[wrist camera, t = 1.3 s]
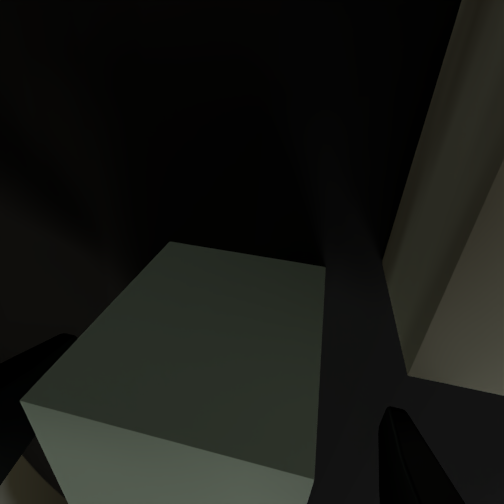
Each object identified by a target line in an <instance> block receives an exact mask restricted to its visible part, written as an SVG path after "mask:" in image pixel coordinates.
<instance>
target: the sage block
mask: <svg viewBox="0 0 504 504" xmlns="http://www.w3.org/2000/svg"><path fill="white" fill-rule="evenodd" d="M325 268H326V267H322V266H316V265H310V264H304V263H298V262H292V261H286V260H280V259H274V258H267V257H261V256H255V255H249V254H243V253H237V252H231V251H225V250H219V249H213V248H207V247H201V246H195V245H189V244H182V243H176V242H169V243H168V244H167V245H166V246H165V247H164V248H163V249H162V250H161V251H160V252H159V253H158V254H157V255H156V256H155V258H154V259H153V260H152V261H151V262H150V263H149V264H148V265H147V266H146V267H145V268H144V269H143V270H142V271H141V272H140V273H139V274H138V276H137V277H136V278H135V279H134V280H133V281H132V282H131V283H130V284H129V285H128V286H127V287H126V288H125V289H124V290H123V291H122V293H121V294H120V295H119V296H118V297H117V298H116V299H115V300H114V301H113V302H112V303H111V304H110V305H109V306H108V307H107V308H106V309H105V311H104V312H103V313H102V314H101V315H100V316H99V317H98V318H97V319H96V320H95V321H94V322H93V323H92V324H91V325H90V326H89V327H88V329H87V330H86V331H85V332H84V333H83V334H82V335H81V336H80V337H79V338H78V339H77V340H76V341H75V342H74V343H73V344H72V345H71V347H70V348H69V349H68V350H67V351H66V352H65V353H64V354H63V355H62V356H61V357H60V358H59V359H58V360H57V361H56V362H55V363H54V365H53V366H52V367H51V368H50V369H49V370H48V371H47V372H46V373H45V374H44V375H43V376H42V377H41V378H40V379H39V380H38V381H37V383H36V384H35V385H34V386H33V387H32V388H31V389H30V390H29V391H28V392H27V393H26V394H25V395H24V396H23V397H22V398H21V400H20V403H21V405H22V407H23V409H24V411H25V413H26V415H27V417H28V420H29V422H30V424H31V426H32V428H33V430H34V432H35V434H36V436H37V439H38V441H39V443H40V445H41V447H42V449H43V451H44V453H45V455H46V457H47V460H48V462H49V464H50V466H51V468H52V470H53V472H54V474H55V476H56V478H57V481H58V483H59V485H60V487H61V489H62V491H63V493H64V495H65V497H66V499H67V502H68V504H307V502H308V498H309V495H310V492H311V488H312V485H313V482H314V473H315V454H316V436H317V417H318V398H319V380H320V361H321V343H322V324H323V305H324V287H325Z"/></svg>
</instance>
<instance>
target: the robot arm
mask: <svg viewBox="0 0 504 504" xmlns="http://www.w3.org/2000/svg"><path fill="white" fill-rule="evenodd" d="M76 340H77V337H76V336H74V335H70V334H65V333H63V334H60V335H57V336H55V337H53V338H51V339H49V340H47V341H45V342H43V343H41V344H39V345H37V346H35V347H33V348H31V349H29V350H27V351H25V352H23V353H21V354H19V355H17V356H15V357H13V358H11V359H9V360H7V361H5V362H3V363H1V364H0V485H1V484H2V482H3V481H4V479H5V478H6V476H7V475H8V473H9V472H10V471H11V469H12V468H13V466H14V465H15V464H16V462H17V461H18V459H19V458H20V456H21V455H22V454H23V452H24V451H25V449H26V448H27V446H28V445H29V444H30V442H31V441H32V439H33V438H34V437H35V435H36V434H35V432H34V430H33V428H32V426H31V424H30V422H29V420H28V417H27V415H26V413H25V411H24V409H23V407H22V405H21V403H20V400H21V398H22V397H23V396H24V395H25V394H26V393H27V392H28V391H29V390H30V389H31V388H32V387H33V386H34V385H35V384H36V383H37V381H38V380H39V379H40V378H41V377H42V376H43V375H44V374H45V373H46V372H47V371H48V370H49V369H50V368H51V367H52V366H53V365H54V363H55V362H56V361H57V360H58V359H59V358H60V357H61V356H62V355H63V354H64V353H65V352H66V351H67V350H68V349H69V348H70V347H71V345H72V344H73V343H74V342H75V341H76ZM378 436H379V493H380V504H465V503H464V501H463V500H462V498H461V497H460V495H459V493H458V492H457V490H456V489H455V487H454V486H453V484H452V482H451V481H450V479H449V478H448V476H447V475H446V473H445V471H444V470H443V468H442V467H441V465H440V464H439V462H438V460H437V459H436V457H435V456H434V454H433V453H432V451H431V450H430V448H429V446H428V445H427V443H426V442H425V440H424V439H423V437H422V435H421V434H420V432H419V431H418V429H417V428H416V426H415V424H414V423H413V421H412V420H411V418H410V417H409V415H408V414H407V412H406V411H405V410H403V409H400V408H395V407H390V406H389V407H388V408H387V409H386V411H385V413H384V416H383V418H382V420H381V423H380V425H379V433H378Z"/></svg>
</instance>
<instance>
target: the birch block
mask: <svg viewBox="0 0 504 504" xmlns="http://www.w3.org/2000/svg"><path fill="white" fill-rule="evenodd" d="M382 264H383V269H384V273H385V277H386V282H387V286H388V291H389V295H390V299H391V304H392V308H393V313H394V317H395V322H396V326H397V330H398V335H399V339H400V344H401V348H402V352H403V357H404V361H405V366H406V370H407V374H408V376H413V377H418V378H422V379H427V380H432V381H437V382H441V383H446V384H451V385H456V386H461V387H465V388H470V389H475V390H480V391H484V392H489V393H494V394H499V395H504V0H462V1H461V4H460V8H459V11H458V14H457V17H456V21H455V24H454V27H453V31H452V34H451V37H450V40H449V44H448V47H447V50H446V54H445V57H444V60H443V63H442V67H441V70H440V73H439V77H438V80H437V83H436V86H435V90H434V93H433V96H432V100H431V103H430V106H429V109H428V113H427V116H426V119H425V123H424V126H423V129H422V132H421V136H420V139H419V142H418V146H417V149H416V152H415V155H414V159H413V162H412V165H411V169H410V172H409V175H408V178H407V182H406V185H405V188H404V192H403V195H402V198H401V201H400V205H399V208H398V211H397V215H396V218H395V221H394V224H393V228H392V231H391V234H390V238H389V241H388V244H387V247H386V251H385V254H384V257H383V261H382Z"/></svg>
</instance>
